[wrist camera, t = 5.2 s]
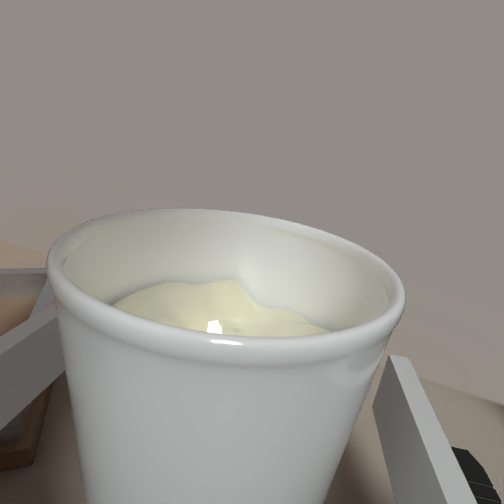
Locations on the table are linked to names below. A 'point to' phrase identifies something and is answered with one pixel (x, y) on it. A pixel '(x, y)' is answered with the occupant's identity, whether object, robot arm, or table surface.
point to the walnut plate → (22, 452)
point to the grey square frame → (27, 285)
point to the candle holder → (216, 353)
